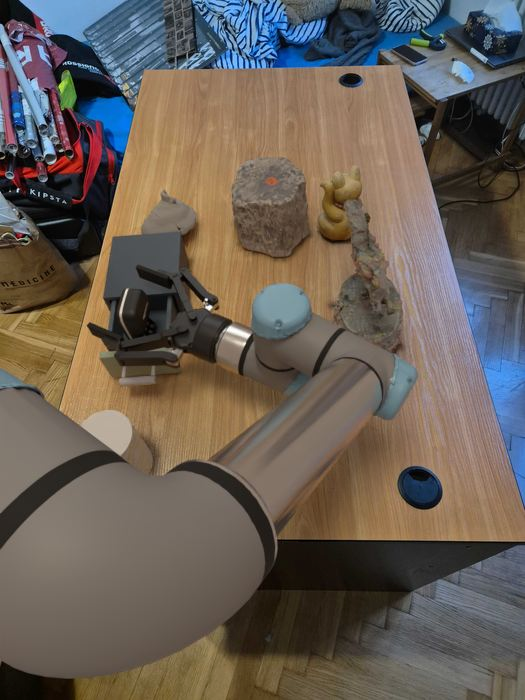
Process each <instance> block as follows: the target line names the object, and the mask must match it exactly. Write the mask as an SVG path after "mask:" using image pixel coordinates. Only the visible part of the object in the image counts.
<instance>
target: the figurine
mask: <svg viewBox="0 0 525 700" xmlns="http://www.w3.org/2000/svg"><path fill="white" fill-rule="evenodd" d="M344 207H345V212H346V216H347V217H348V223H349V224H350V227H351V230H352V232H351V237H350V241H351V254H350V257H351V259H352V262H353V265H354V266H355V270H354V271H355V273H353V274H351V275H350V276H348V277H347V279H346V280H344V282H343V283H342V284H341V285H342V286H341V287H340V290H339V292H338V296H337V298H336V301H335V303H333V304H331V306H334V312H333V321H332V323H334V324H336V325H338V326H340V327H342V328H343V329H345V330H347V331H349V332H351V333H353V334H355V335H357V336H359V337H361V338H363V339H365V340H367V341H368V342H370V343H372V344H374V345H376V346H378V347H380V348H382V349H384V350H386V351H388V352H390V353H394V354H395V352H397V351H398V350H399V349H400V348H401V347H402V346H403V341H402V339H401V338H400V335H401V331H402V327H403V325H402V322H403V321H404V319H403V318H404V311H403V302H402V298H401V294H400V293H399V292H398V289H397V288H396V286H395V285H394V283H393V282H392V280H391V279H390V278H388V277H387V268H388V267H389V266H390V261H389V260H386V258H385V252H382V251H383V250H382V248H380V243H379V242H378V243H377V242H376V241H377V238H376V236H374V235H373V233H372V232H370V229H369V223H370V222H371V219H372V218H371V216H370V214H369V213H368V212H366V213H365V212H364V210H363V207H364V204H363V201H362V202H360V201H357V200H347V201H346V202H344ZM361 208H362V209H361Z"/></svg>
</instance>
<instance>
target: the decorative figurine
mask: <svg viewBox="0 0 525 700" xmlns="http://www.w3.org/2000/svg"><path fill="white" fill-rule="evenodd" d="M361 176H362V175H361V170H360V166H359V165H358V164H353V165H352V166H351V167H350V169H349V172H341V171H339V170H338V171H335V172H334V173H333V175H332V179H331V180H330V179H324V180H322V181H321V183H320V184H319V186H320V188H322V189H323V190H324V195H323V197H322V201H321V207H322V210H323V211H322V212H320V214H319V216H318V219H317V224H316V227H317V230H318V231H319V232H320V233H321V235H323V236H324V237H325V238H326V239H329V240H330V241H331V242H332V243H334V242H336V241H341V240H342V241H343V240H344V241H348V240H349V239H351V232H352V230H351V227H350V224H349V223H348V217H347V216H346V212H345V207H344V202H346V201H347V200H357V201H360V202H362V203H363V201H362V199H361V195H362V193H363V192H362V191H363V182H362V180H361ZM361 209H362V210H363V207H362V208H361Z"/></svg>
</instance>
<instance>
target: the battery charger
mask: <svg viewBox="0 0 525 700" xmlns="http://www.w3.org/2000/svg"><path fill="white" fill-rule="evenodd" d="M150 310H151V304H150V301H149V299H148V297H147V295H146V293H145V292H144V291H143V290H141V289H131V288H127V289H124V290H123V292H122V294H121V297H120V300H119V304H118V308H117V312H116V317H117V320H118V323H119V325H120V326H121V328H122V330H123V332H124V334H125V335H126V337H127V338H128V340H130V339H135V338H139V337H144V336H148V335H153V334H155V333H156V329H157V326H156V324H155V323H154V322H153V321H152V320H151V319H150V318H149V314H150Z"/></svg>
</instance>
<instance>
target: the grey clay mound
mask: <svg viewBox="0 0 525 700" xmlns="http://www.w3.org/2000/svg"><path fill="white" fill-rule="evenodd" d="M160 198H161V199H160V200H159V202H158V203H157V204H156V205H155V206H154V207H153V208H152V209H151V211H150V213H148V215H147V216H146V218H145V219H144V220H143V221H142V224H141V227H140V231H141V233H140V234H154V233H167V232H180V231H181V234H182V236H185V235H186V234H188V232H189V231H191V230H192V229H193V228H194V227H195V225H196V223H197V219H196V218H197V217H198V214H197V212H196V210H195V209H194V208H193V207H192V206H190V205H189V204H186V203H185V202H184V201H182V200H180V199H178V198H176V197H172V196H170V195H169V194H168V192H167V190H166V188H163V189H162V190H161V192H160Z"/></svg>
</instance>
